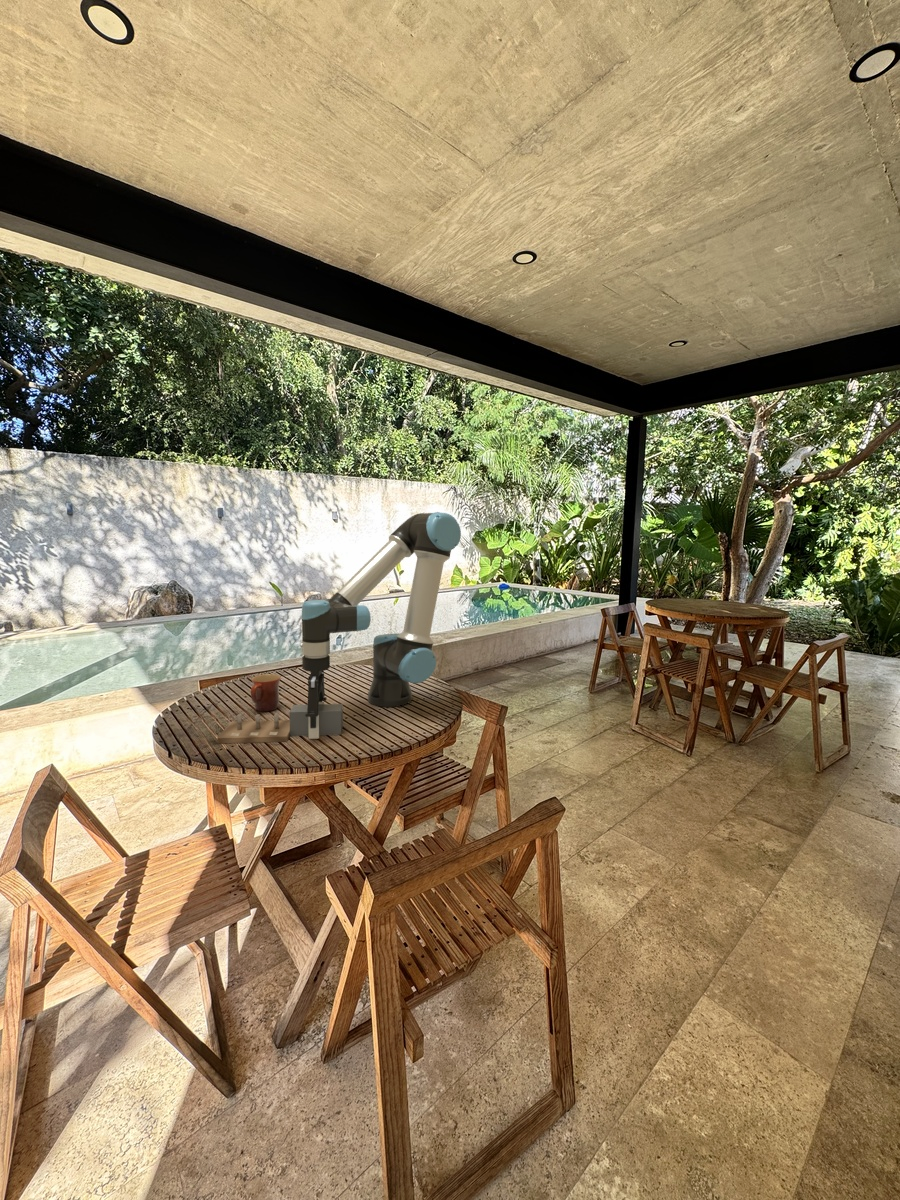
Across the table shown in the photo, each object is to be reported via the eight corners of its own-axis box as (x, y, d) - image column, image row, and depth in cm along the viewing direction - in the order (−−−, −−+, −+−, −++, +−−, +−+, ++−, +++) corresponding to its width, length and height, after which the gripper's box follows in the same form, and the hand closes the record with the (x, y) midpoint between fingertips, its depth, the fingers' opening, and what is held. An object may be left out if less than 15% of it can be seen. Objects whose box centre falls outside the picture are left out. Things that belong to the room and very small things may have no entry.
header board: (295, 724, 145) (294, 707, 144) (286, 741, 133) (286, 722, 133) (231, 726, 143) (231, 708, 142) (217, 743, 131) (216, 723, 130)
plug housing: (342, 726, 145) (342, 703, 144) (340, 734, 139) (340, 711, 138) (293, 727, 143) (293, 704, 142) (289, 736, 137) (289, 712, 136)
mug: (262, 703, 163) (261, 673, 162) (286, 705, 161) (285, 675, 160) (240, 715, 151) (239, 683, 150) (265, 718, 150) (265, 685, 148)
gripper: (308, 646, 149) (309, 716, 152) (294, 665, 126) (295, 747, 129) (334, 646, 150) (334, 715, 153) (324, 665, 127) (324, 746, 130)
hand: (316, 730), depth 141 cm, fingers open, 10 cm apart
